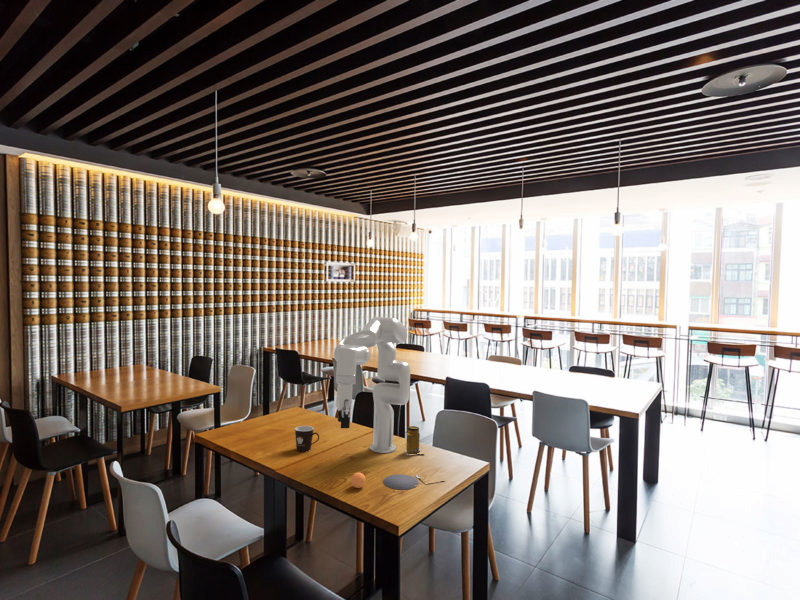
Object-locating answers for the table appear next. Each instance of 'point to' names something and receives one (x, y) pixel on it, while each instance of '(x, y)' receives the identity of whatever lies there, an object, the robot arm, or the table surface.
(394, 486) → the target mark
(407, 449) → the condiment
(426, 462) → the table surface
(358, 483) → the ball
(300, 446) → the coffee mug
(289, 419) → the table surface
